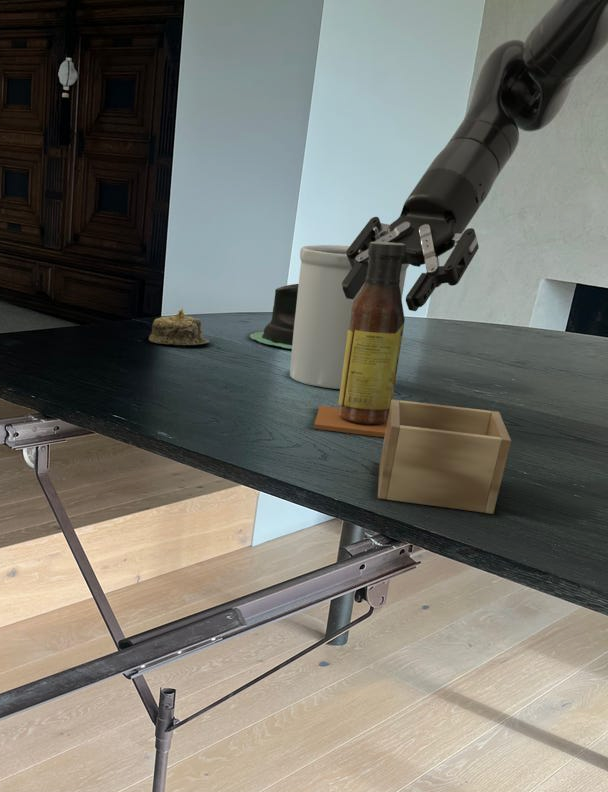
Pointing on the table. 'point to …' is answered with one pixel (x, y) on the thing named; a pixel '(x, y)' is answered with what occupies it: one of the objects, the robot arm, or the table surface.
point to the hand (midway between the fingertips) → (377, 299)
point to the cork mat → (345, 424)
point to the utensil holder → (323, 316)
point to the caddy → (443, 456)
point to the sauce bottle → (374, 339)
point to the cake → (177, 330)
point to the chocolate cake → (281, 319)
